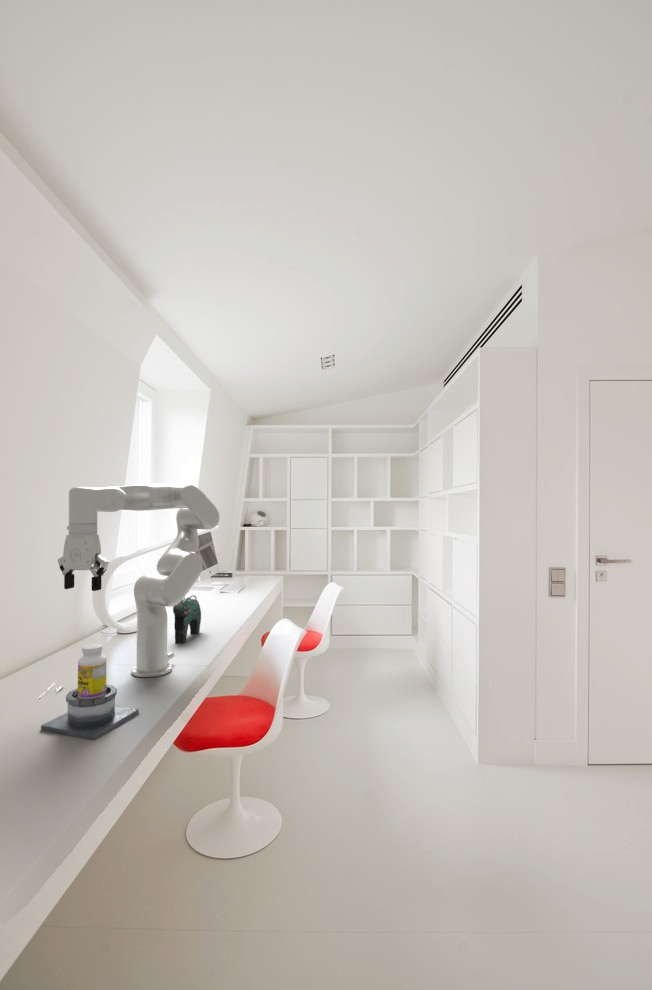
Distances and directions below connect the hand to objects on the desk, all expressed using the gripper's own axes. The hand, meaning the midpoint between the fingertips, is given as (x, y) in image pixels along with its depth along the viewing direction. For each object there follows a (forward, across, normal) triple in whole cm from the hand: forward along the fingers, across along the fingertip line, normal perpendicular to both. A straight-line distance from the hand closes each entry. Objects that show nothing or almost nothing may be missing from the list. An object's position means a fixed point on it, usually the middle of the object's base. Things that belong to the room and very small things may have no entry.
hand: (82, 589), depth 153 cm
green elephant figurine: (+31, -7, +64) cm, 71 cm away
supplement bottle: (+24, +16, -14) cm, 32 cm away
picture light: (+31, -11, 0) cm, 33 cm away
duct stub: (+30, +16, -14) cm, 37 cm away
